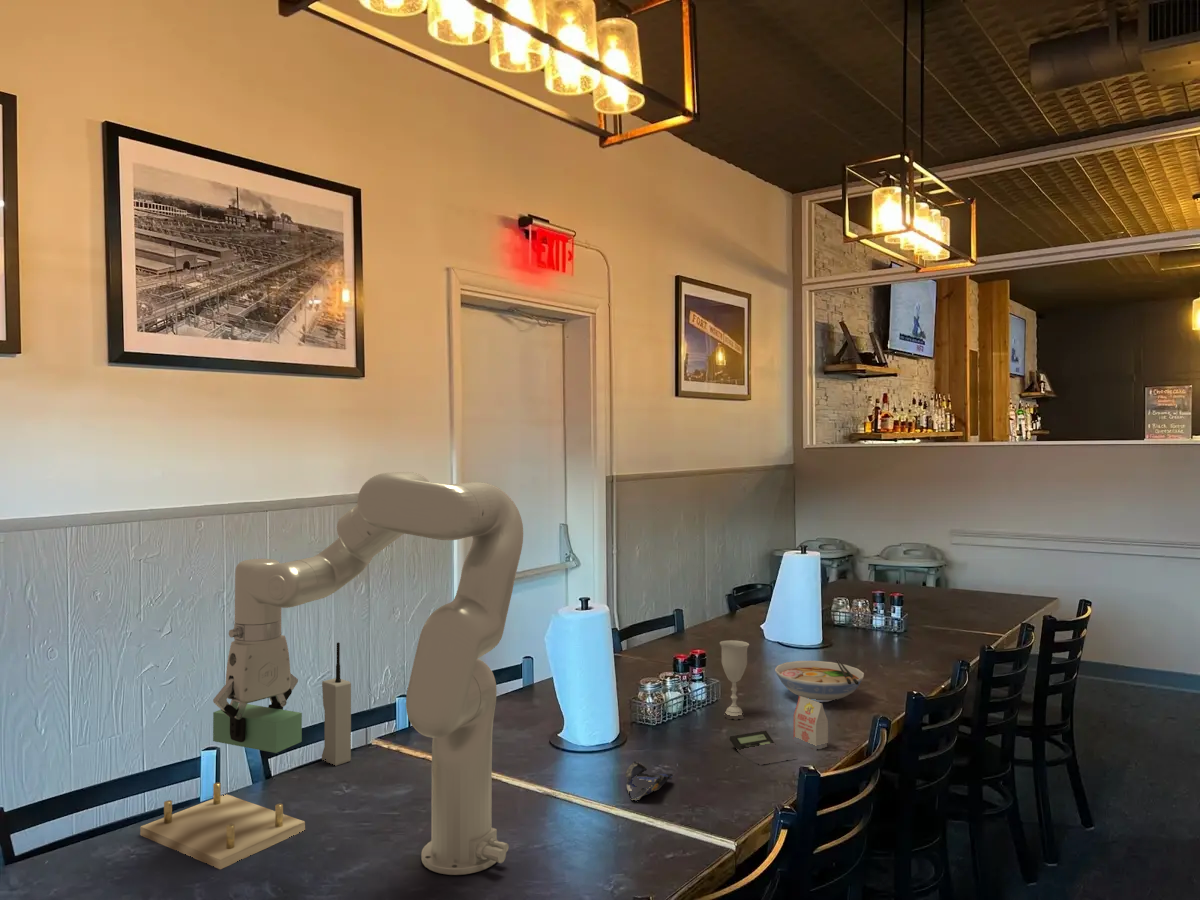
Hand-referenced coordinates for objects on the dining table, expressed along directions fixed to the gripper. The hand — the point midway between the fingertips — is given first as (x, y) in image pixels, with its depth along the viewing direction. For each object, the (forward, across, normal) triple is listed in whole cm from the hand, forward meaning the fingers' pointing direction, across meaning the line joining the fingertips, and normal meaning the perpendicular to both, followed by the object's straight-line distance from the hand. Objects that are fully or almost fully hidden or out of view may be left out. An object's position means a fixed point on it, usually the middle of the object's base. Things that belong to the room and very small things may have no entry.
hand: (256, 733), depth 147 cm
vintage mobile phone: (+16, +28, +13) cm, 35 cm away
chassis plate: (+16, -4, +2) cm, 17 cm away
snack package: (+16, +51, -48) cm, 72 cm away
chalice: (+15, +101, -45) cm, 112 cm away
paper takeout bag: (+15, +93, -67) cm, 115 cm away
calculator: (+16, +82, -60) cm, 103 cm away
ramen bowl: (+15, +128, -57) cm, 141 cm away
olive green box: (+1, 0, 0) cm, 1 cm away
